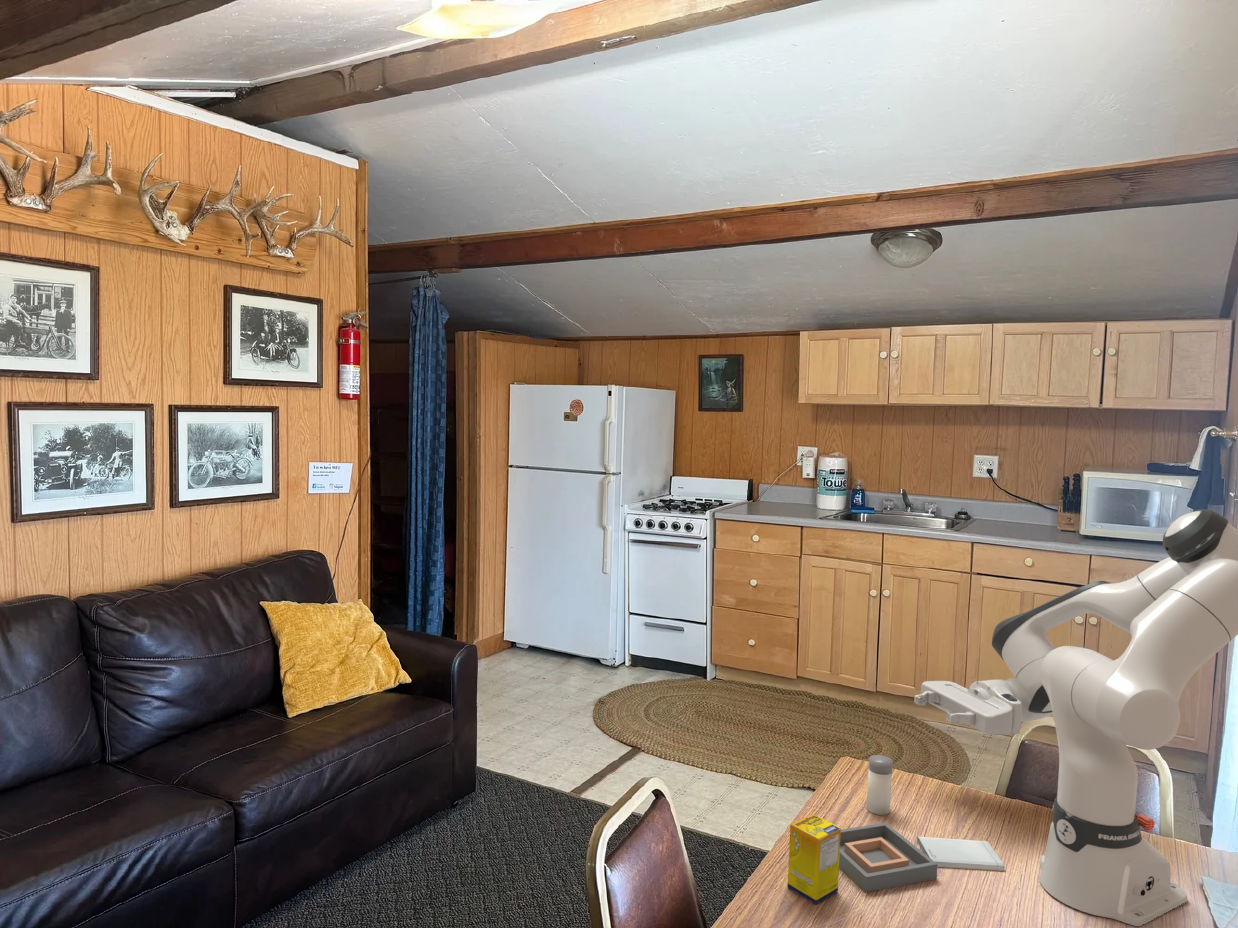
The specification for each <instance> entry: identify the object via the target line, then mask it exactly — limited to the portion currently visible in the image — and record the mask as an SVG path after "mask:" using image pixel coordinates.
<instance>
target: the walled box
mask: <svg viewBox="0 0 1238 928" xmlns="http://www.w3.org/2000/svg"><path fill="white" fill-rule="evenodd" d="M937 865H938V864H937V863H936V862H934V861H933V860H932V859H931V858H929V857H928V856H927V855H926V854H924V853H923V851H922V850H921V849H920V848H918V847H917V846H916V845H914V844H913V843H912V842H911V841H909V840H908V839H907V838H906V837H904V836H903V835H902V834H901V833H900V832H898V831H897V830H896V829H894V828H893V827H892V826H891V825H890V824H889V823H887V822H882V823H874V824H870V825H863V826H856V827H851V828H843V829H841V836H840V855H839V870H841V871H843V872H844V874H846V876H847V877H848V878H850V879H851V880H852V881H853V882H854V884H856V885H857V886H858V887H859V888H860V889H861V890H862V891H864V892H863V893H869V892H874V891H875V892H876V891H880V890H886V889H890V888H895V887H896V888H897V887H900V886H907V885H912V884H917V883H922V882H926V881H932V880H937V877H938V867H937Z"/></svg>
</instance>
